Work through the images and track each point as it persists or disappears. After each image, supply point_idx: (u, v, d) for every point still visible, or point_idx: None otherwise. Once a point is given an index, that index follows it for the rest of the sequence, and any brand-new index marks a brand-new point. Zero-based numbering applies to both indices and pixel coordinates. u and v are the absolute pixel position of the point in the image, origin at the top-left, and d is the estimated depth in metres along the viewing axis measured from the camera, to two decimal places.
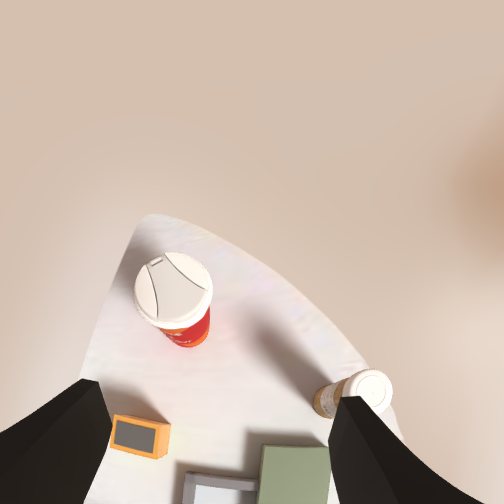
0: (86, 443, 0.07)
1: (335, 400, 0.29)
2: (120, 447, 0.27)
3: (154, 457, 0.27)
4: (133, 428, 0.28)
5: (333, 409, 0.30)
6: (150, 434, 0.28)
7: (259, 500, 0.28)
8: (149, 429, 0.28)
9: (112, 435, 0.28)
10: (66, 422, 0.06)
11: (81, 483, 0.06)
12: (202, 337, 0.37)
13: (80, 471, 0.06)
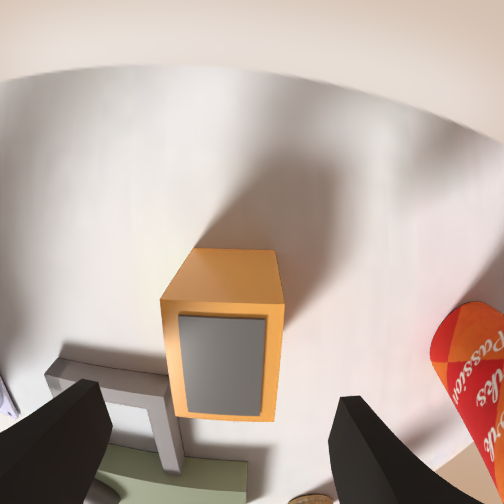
0: (86, 443, 0.07)
1: None
2: (173, 333, 0.10)
3: (179, 412, 0.12)
4: (250, 368, 0.11)
5: None
6: (242, 407, 0.11)
7: (149, 481, 0.18)
8: (256, 405, 0.11)
9: (205, 305, 0.10)
10: (66, 422, 0.06)
11: (81, 483, 0.06)
12: None
13: (80, 471, 0.06)
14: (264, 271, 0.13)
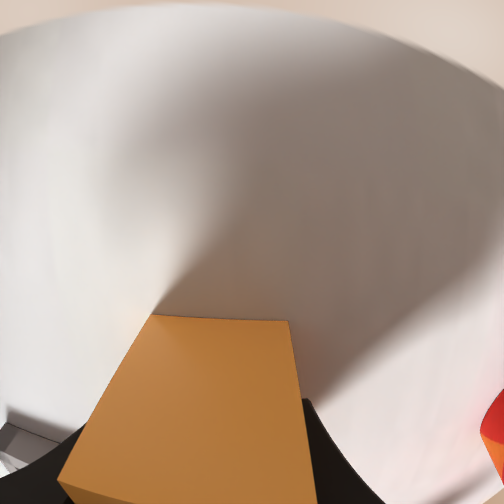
0: None
1: None
2: None
3: None
4: None
5: None
6: None
7: None
8: None
9: None
10: None
11: None
12: (500, 475, 0.09)
13: None
14: (272, 390, 0.06)
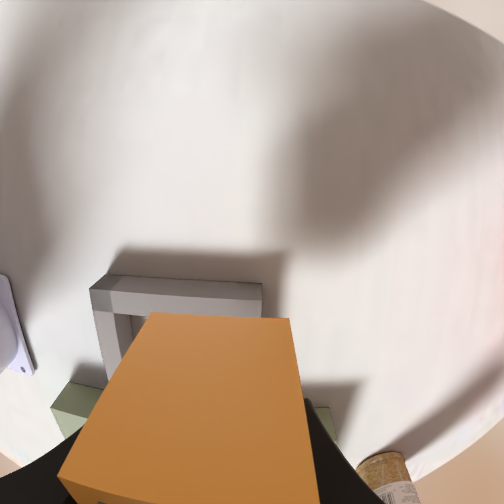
0: None
1: None
2: None
3: None
4: None
5: None
6: None
7: None
8: None
9: None
10: None
11: None
12: None
13: None
14: (273, 387, 0.06)
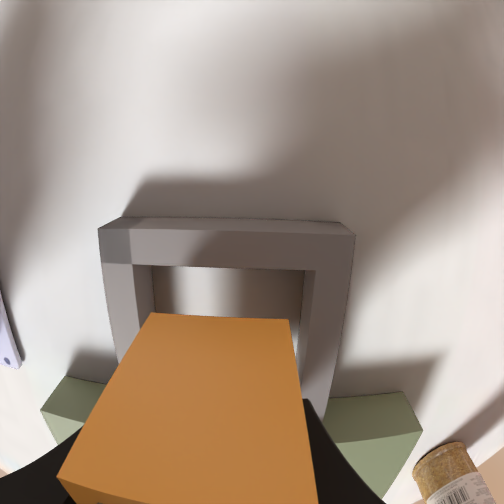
0: None
1: None
2: None
3: None
4: None
5: None
6: None
7: None
8: None
9: None
10: None
11: None
12: None
13: None
14: (273, 388, 0.06)
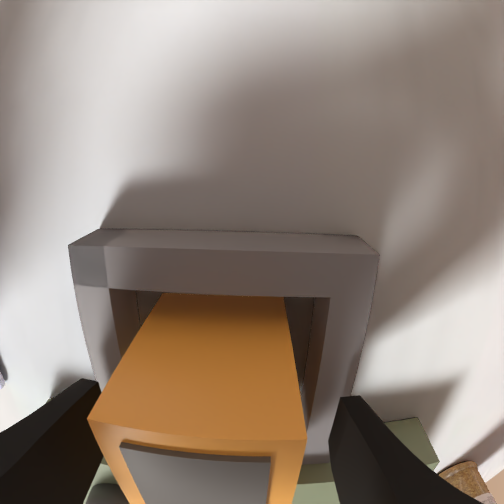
0: (86, 443, 0.07)
1: None
2: (118, 462, 0.05)
3: None
4: None
5: None
6: None
7: None
8: None
9: (162, 437, 0.05)
10: (66, 422, 0.06)
11: (81, 483, 0.06)
12: None
13: (80, 471, 0.06)
14: (268, 347, 0.08)
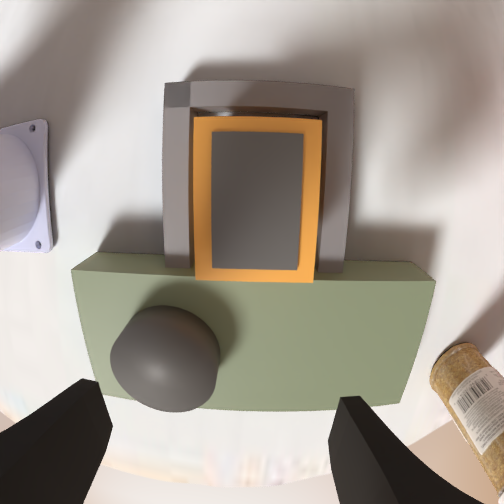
0: (86, 443, 0.07)
1: None
2: (204, 155, 0.10)
3: (200, 272, 0.11)
4: (287, 195, 0.10)
5: (499, 414, 0.12)
6: (277, 255, 0.10)
7: None
8: (293, 252, 0.10)
9: (241, 120, 0.09)
10: (66, 422, 0.06)
11: (81, 483, 0.06)
12: None
13: (80, 471, 0.06)
14: None
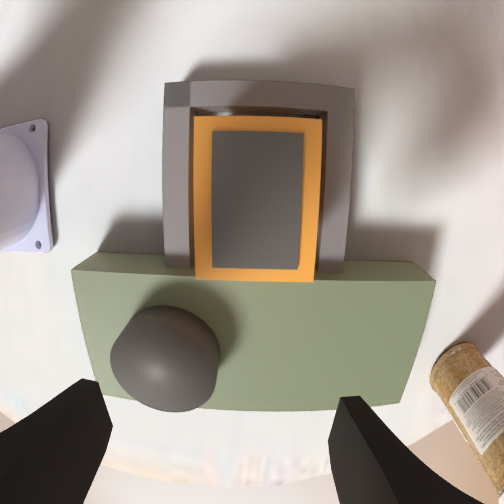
0: (86, 443, 0.07)
1: None
2: (204, 155, 0.10)
3: (200, 272, 0.11)
4: (288, 194, 0.10)
5: (499, 414, 0.12)
6: (278, 255, 0.10)
7: None
8: (293, 251, 0.10)
9: (241, 120, 0.09)
10: (66, 422, 0.06)
11: (81, 483, 0.06)
12: None
13: (80, 471, 0.06)
14: None
